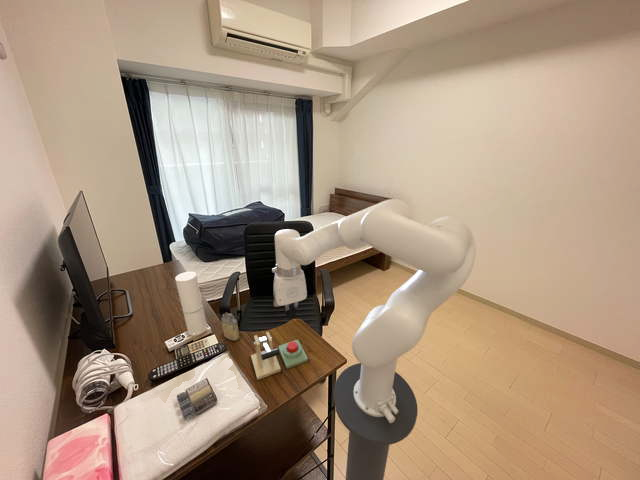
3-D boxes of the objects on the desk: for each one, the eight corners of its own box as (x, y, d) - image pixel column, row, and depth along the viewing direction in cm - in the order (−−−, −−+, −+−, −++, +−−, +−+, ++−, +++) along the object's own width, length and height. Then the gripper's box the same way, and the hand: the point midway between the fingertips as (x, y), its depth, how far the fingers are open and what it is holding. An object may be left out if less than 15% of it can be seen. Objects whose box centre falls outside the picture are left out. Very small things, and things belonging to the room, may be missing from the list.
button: (298, 350, 90) (298, 347, 89) (289, 354, 88) (289, 350, 88) (295, 343, 93) (295, 340, 92) (286, 347, 91) (285, 343, 91)
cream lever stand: (281, 371, 85) (279, 344, 81) (257, 380, 82) (253, 352, 77) (272, 350, 93) (270, 324, 89) (251, 357, 90) (247, 331, 86)
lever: (279, 356, 75) (278, 348, 75) (263, 362, 73) (261, 354, 73) (270, 341, 86) (269, 334, 86) (255, 346, 84) (254, 339, 84)
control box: (308, 360, 89) (308, 354, 88) (286, 369, 86) (286, 362, 85) (298, 341, 97) (297, 335, 96) (278, 348, 94) (277, 342, 93)
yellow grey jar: (241, 336, 100) (238, 315, 96) (234, 342, 97) (230, 321, 93) (228, 330, 103) (225, 310, 99) (221, 336, 100) (217, 315, 96)
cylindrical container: (208, 322, 107) (198, 270, 98) (204, 334, 101) (193, 280, 91) (190, 324, 106) (178, 272, 97) (185, 336, 100) (172, 282, 90)
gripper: (267, 279, 72) (271, 330, 79) (316, 269, 78) (316, 316, 85) (261, 268, 78) (265, 316, 85) (306, 259, 85) (307, 304, 91)
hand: (290, 316), depth 85 cm, fingers closed
